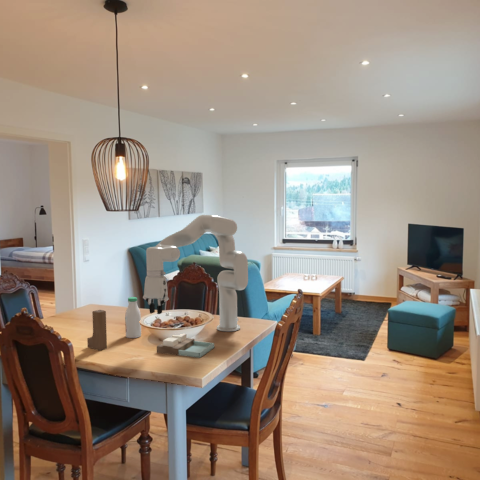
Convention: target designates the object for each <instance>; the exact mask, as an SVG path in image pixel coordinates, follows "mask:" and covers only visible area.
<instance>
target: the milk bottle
mask: <svg viewBox="0 0 480 480" xmlns="http://www.w3.org/2000/svg"><path fill="white" fill-rule="evenodd" d="M127 302H128V305H127V308H126V311H125V317H124V319H125V324H124V325H125V338H127V339H135V338H136V339H137V338H140V337H141V336H142V324H141V325H140V323H139V321H140V320H141V321H142V316H141V314H142V313H141V310H140V308H139V306H138V297H136V296H131V297H130V296H129V297H128V298H127Z"/></svg>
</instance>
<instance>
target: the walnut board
mask: <svg viewBox="0 0 480 480" xmlns="http://www.w3.org/2000/svg"><path fill="white" fill-rule="evenodd" d="M186 338H187V339H186V340H184V341H182V342H178V344H177V345H175V346H174V347H169V346H163V342H162V343H160V344H158V345H157V346H156V353H158V354H166V355H173V356H180V355H179V354H178V350H186V349H187V348H189V347H191V346H192V345H194V341H196V340H195V338H191V337H190V338H189V337H186Z"/></svg>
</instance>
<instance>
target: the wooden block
mask: <svg viewBox="0 0 480 480" xmlns="http://www.w3.org/2000/svg"><path fill="white" fill-rule="evenodd" d="M91 312H92V315H91V316H92V336H90V337H87V338H86V339H87V340H86V341H87V348H89V349H93V350H96V351H103V350H106V349H108V342H107V341H108V340H107V338H108V337H107V336H108V335H107V312H106V310H103V309H97V310H93V311H91Z"/></svg>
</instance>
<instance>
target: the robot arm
mask: <svg viewBox="0 0 480 480" xmlns="http://www.w3.org/2000/svg"><path fill="white" fill-rule="evenodd" d="M237 231H238V225H237V223H236V221H235V220H234V219H231V218H227V217H223V216H218V215H216V214H215V215H214V214H200V215H198V216H197V217H196V218H194V219H193V220H192V221H191V222H190V223H189V224H187V225H186V226H185V227H183V228H182V229H181V230H178V231H176V232H174V233H173V234H170V235H169V236H166V237H165V238H163V239H162V240H161V241H159V243H157V244H156V245H155V246H150V247H147V248H146V251H145V252H146V276H145V281H144V291H143V296H142V299H144V300H145V302H147V304H148V308H149V309H148V311H149V314H154V313H155V312H156V311H157V312H156V314H157V315H161V314H162V313H163V305H164V304H165V303H166V302H167V301H168V300H170V298H169V295H168V294H169V293H168V292H169V291H168V283H167V279H166V275H167V273H166V271H165V270H164V263H165V262H166V263H167V262H169V263H173V262H176V261H178V260H179V258H180V256H181V251H180V249H179V248H181V247H185V246H190V245H192V244H194V243H196V241H197V240H199V239H200V238H201V237H202V236H203V235H205V234H206V233H211V234H212V235H214V236H215V238H216V240H217V241H218V253H219V255H218V257H219V259H218V260H219V265H220V266H221V267H222V268H225V269H226V270H222V271H220V272H219V274H218V275H217V279H216V280H217V281H216V282H217V286H218V291H219V292H218V294H219V295H218V296H219V298H218V299H219V307H218V309H219V324H218V325H217V326H216V330H217V331H221V332H235V331H239V330H240V329H241V325H240V324H238V321H239V318H238V294H237V291H243V290H245V289H246V288H247V286H248V284H249V263H248V261H249V260H248V257H247V255H246V254H245V253H244V252H243V251H239V250H236V245H235V239H234V238H235V237H234V236H233V235H235V234H236V233H237ZM227 269H231V270H227ZM155 300H157V304H158V305H157V306H156V308H155V305H156V304H155V303H154V301H155ZM155 310H156V311H155Z"/></svg>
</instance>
